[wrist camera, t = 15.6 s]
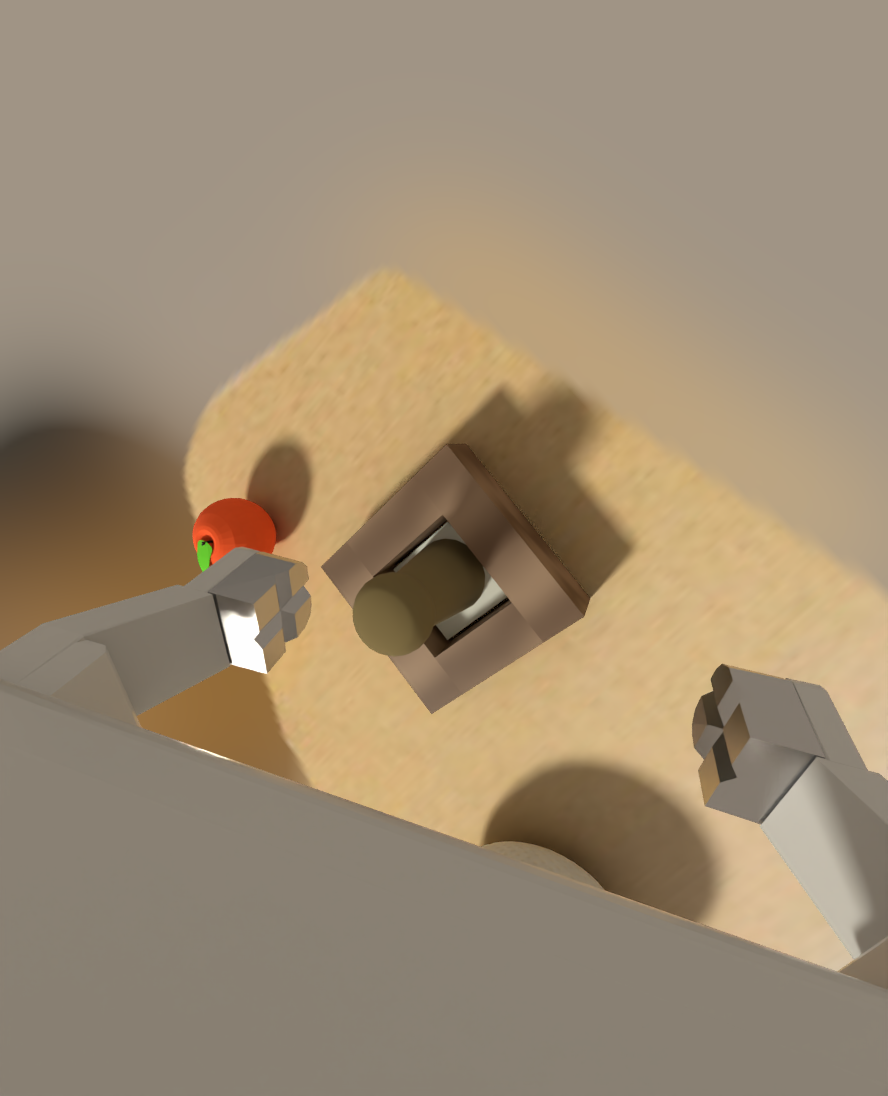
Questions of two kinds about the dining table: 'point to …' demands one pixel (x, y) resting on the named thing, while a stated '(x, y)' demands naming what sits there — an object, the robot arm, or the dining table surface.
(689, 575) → the dining table surface
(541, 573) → the socket block
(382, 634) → the olive pepper mill
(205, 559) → the clementine
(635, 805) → the dining table surface
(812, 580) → the dining table surface
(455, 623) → the cream square tile
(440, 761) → the dining table surface
